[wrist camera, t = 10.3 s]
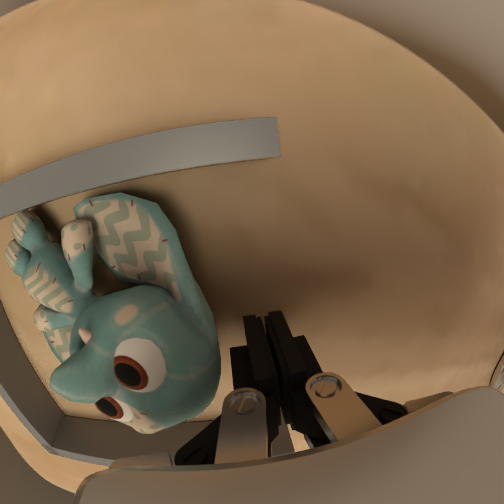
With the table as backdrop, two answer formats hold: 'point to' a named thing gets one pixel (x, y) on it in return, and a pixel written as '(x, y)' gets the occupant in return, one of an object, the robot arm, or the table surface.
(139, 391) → the stuffed animal
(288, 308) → the table surface
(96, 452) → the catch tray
